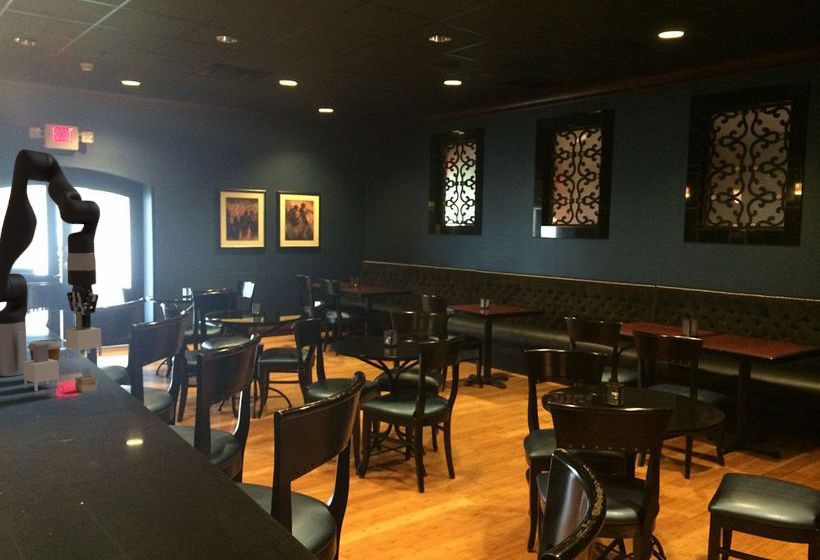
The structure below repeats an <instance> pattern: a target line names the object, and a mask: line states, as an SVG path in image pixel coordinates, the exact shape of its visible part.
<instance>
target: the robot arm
mask: <svg viewBox="0 0 820 560" xmlns="http://www.w3.org/2000/svg"><path fill="white" fill-rule="evenodd" d="M11 180H12V181H11V186H10V192H9V199H8V202H7V207H6V211H5V215H4V218H3V223H2V227H1V231H0V303H5V306H4V308H2V309H1V310H0V377H11V376H12V377H13V376H20V375H24V362H26V361H28V352H27V350H28V349H27V348H28V346H27V327H26V326H27V325H26V324H27V323H26V317H27V314H28V313H27V312H28V294H29V291H28V289H29V288H28V283H27V280H26V278H25V276H24V275H23V274H20V273H11V272H12V269H13V266H14V264H15V263H16V261H17V260H18V259H19V258H20V257H21V256H22V255H23V254H24V253H25V251H26V250H27V249H28V248H29V246H31V244H32V242H33V241H34V237H35V234H36V229H37V224H38V219H37V215H36V213H35V211H34V208H33V206H32V205H31V202H30V200H29V196H28V184H29V181H35V182H40V183H41V182H42V183H44V182H45V183H48V185H47V193H48V195H49V197H50V199H51V200H52V201H53V203H54V204H55V205H56V206H57V208H58V211H59V216H60V219H61V220H62V221H63V222H64V223H66V224H69V225H83V227H82V228H81V230H80V231H76V232H71V233H69V234H68V235H67V261H66V263H67V265H66V266H67V271H66V272H67V284H68V286H72V288H71V289H72V290H71V291H69V292H67V293H66V296H67V300H68V304H69V307H70V311H71V312H73V314H74V315H75V312H82V327H83V328H89V327H90V326H91V327H92V322H91V321H90V315H92V314H95V312H96V310H97V304H98V300H99V294H95V293H93V292H94V290H93V287H92V286H93V285H96V284H97V269H96V268H97V263H96V256H95V254H96V253H95V238H96V237H95V236H96V233H97V227H98V224H99V221H100V217H101V208H100V206H99V205H98V203H97V202H95V201H94V200H83V199H82V195H81V194H80V192H79V191H78V190H77V189H76V187H74V186H73V185H72V184H71V183H70V182H69V180H68V179H67V177H66V175H65V173H64V170H63V169H62V167H61V165H60V163H59V162H58V160H57V159H56V157H55V156H54V155H52V154H50V153H47V152H43V151H39V150H38V151H37V150H33V149H26V148H25V149H21V150H19V151H18V152H17V154H16V157H15V160H14V166H13V172H12V179H11Z"/></svg>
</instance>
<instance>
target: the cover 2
mask: <svg viewBox="0 0 820 560" xmlns="http://www.w3.org/2000/svg"><path fill="white" fill-rule="evenodd" d="M74 315H75V318H74V319H75V320H74V321H75V327H73V328H66V329H65V356H66V357H69V356H70V350H74V351H75V350H76V351H77V352H76V353H77V360H81V351H82V350H86V352H87V354H91V349H98V356H99V357H100V356H101V357H102V354H103V353H102V328H100V327H93V326H92V325H91V326H90V327H89V328H83V327H82V312H75V314H74ZM91 315H92V314H91ZM91 315H90V321H91V320H92V318H91V317H92V316H91Z"/></svg>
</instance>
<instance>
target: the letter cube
mask: <svg viewBox="0 0 820 560" xmlns="http://www.w3.org/2000/svg"><path fill="white" fill-rule="evenodd" d="M74 381H75V383H74V385H75V386H74V387H75V388H74V389H75V391H76V392H80V393H87V391H88V392H92V390H93V391H96V390H97V386H96V376H92V375H87V374H86V375H83V376H76V377H74Z"/></svg>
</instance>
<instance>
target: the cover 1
mask: <svg viewBox="0 0 820 560" xmlns="http://www.w3.org/2000/svg"><path fill="white" fill-rule="evenodd" d="M59 361H60V360H59ZM59 361H57V360H52V359H48V345H47V344H37V345H33V361H31V360H27V361H26V362H24V374H23V381H24V382H23V383H24V384H23V385H24V387H23V388H24V389H28V382H30V383H33V384H34V385H33V386H34V387H33V388H34V392H39V391H38V383H42V382H45V383H46V384H45V385H50V381H56V382H55V383H56V384H55V385H56V388H60V366H59V363H60V362H59Z"/></svg>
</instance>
